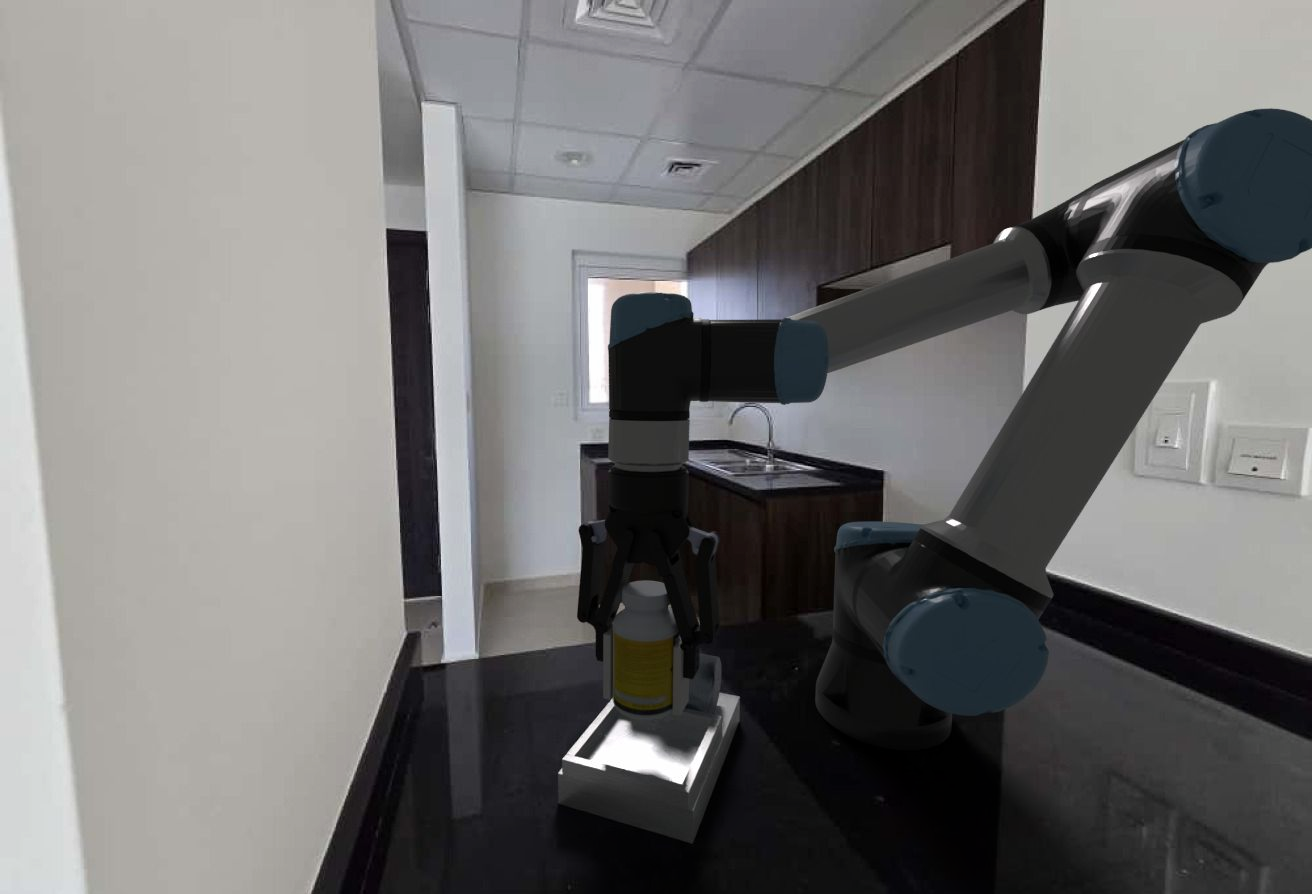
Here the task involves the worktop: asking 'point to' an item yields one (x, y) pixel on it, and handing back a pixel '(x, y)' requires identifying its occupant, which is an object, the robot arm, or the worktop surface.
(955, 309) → the robot arm
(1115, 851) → the worktop surface
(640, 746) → the motor base
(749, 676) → the worktop surface
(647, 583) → the pill bottle
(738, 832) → the worktop surface
